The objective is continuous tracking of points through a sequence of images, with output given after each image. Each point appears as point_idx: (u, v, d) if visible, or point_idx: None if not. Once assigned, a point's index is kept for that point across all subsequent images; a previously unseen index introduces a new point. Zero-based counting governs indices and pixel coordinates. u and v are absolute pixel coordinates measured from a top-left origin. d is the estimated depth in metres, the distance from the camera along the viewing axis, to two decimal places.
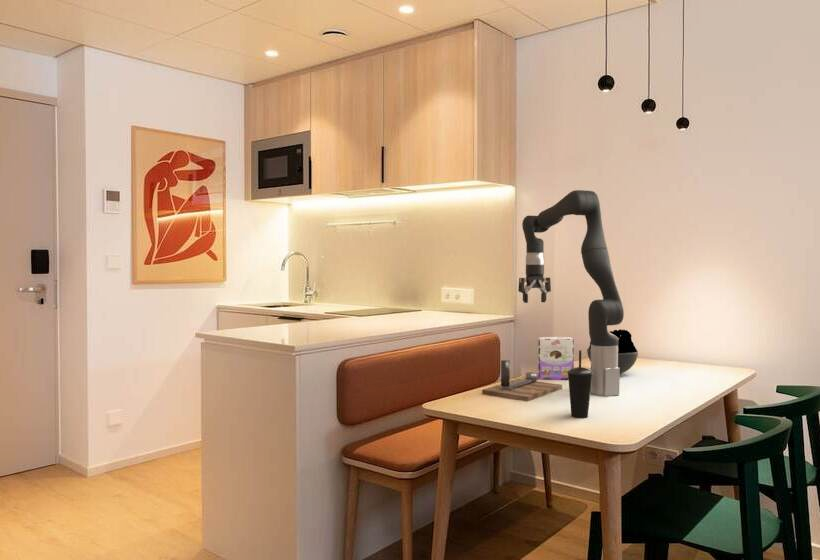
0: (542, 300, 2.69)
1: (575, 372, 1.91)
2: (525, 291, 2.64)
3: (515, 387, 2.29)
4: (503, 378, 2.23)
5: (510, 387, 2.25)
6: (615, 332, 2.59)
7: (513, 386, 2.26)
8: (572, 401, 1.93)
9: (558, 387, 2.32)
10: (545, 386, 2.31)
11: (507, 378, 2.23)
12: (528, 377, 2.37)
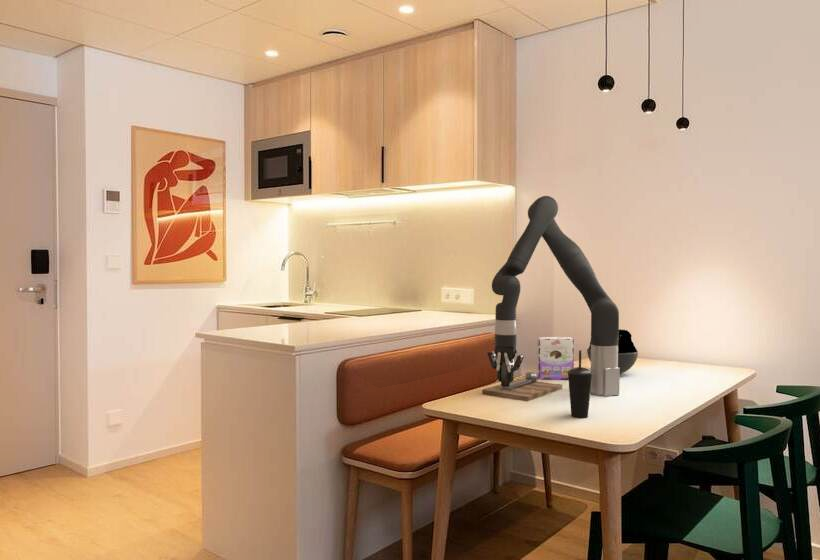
0: None
1: (575, 372, 1.91)
2: None
3: (515, 387, 2.29)
4: (503, 378, 2.23)
5: (510, 387, 2.25)
6: None
7: (513, 386, 2.26)
8: (572, 401, 1.93)
9: (558, 387, 2.32)
10: (545, 386, 2.31)
11: None
12: (528, 377, 2.37)
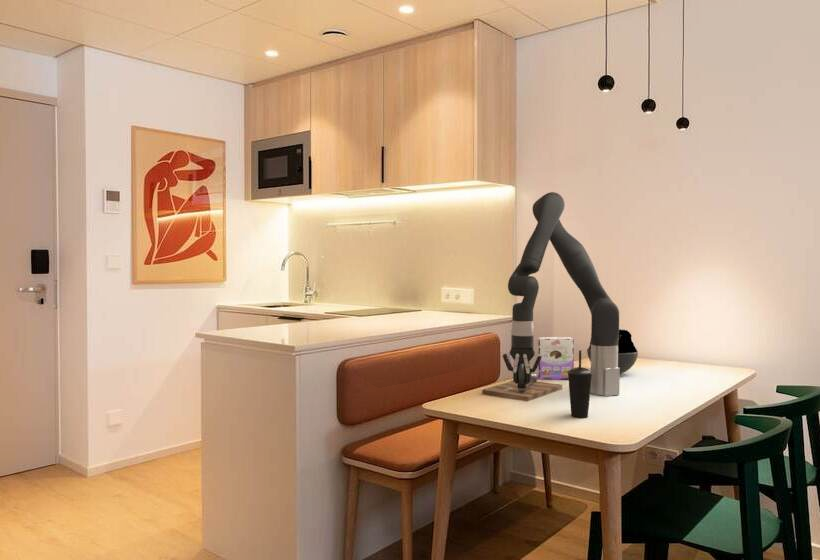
0: None
1: (575, 372, 1.91)
2: None
3: (515, 387, 2.29)
4: (521, 380, 2.19)
5: (526, 388, 2.22)
6: None
7: (527, 387, 2.24)
8: (572, 401, 1.93)
9: (558, 387, 2.32)
10: (545, 386, 2.31)
11: (525, 380, 2.20)
12: None
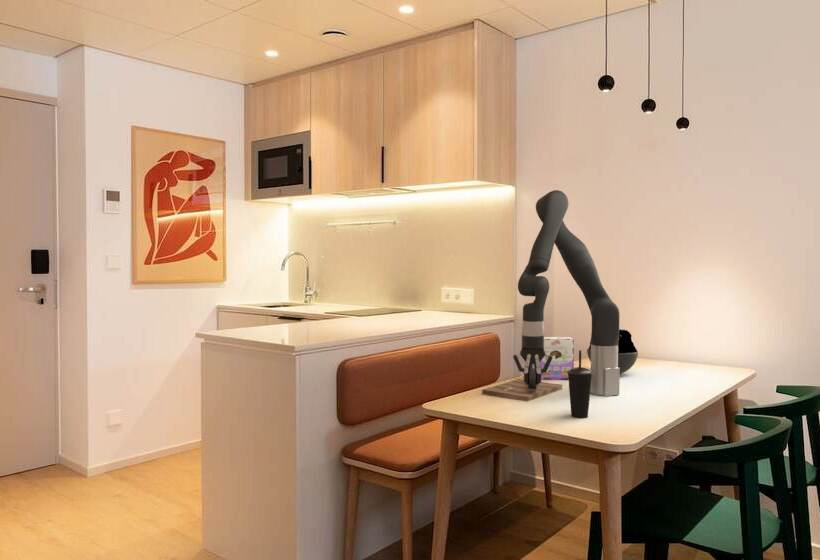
0: (527, 381, 2.20)
1: (575, 372, 1.91)
2: None
3: (515, 387, 2.29)
4: (532, 380, 2.19)
5: None
6: None
7: None
8: (572, 401, 1.93)
9: (558, 387, 2.32)
10: (545, 386, 2.31)
11: (536, 380, 2.19)
12: None
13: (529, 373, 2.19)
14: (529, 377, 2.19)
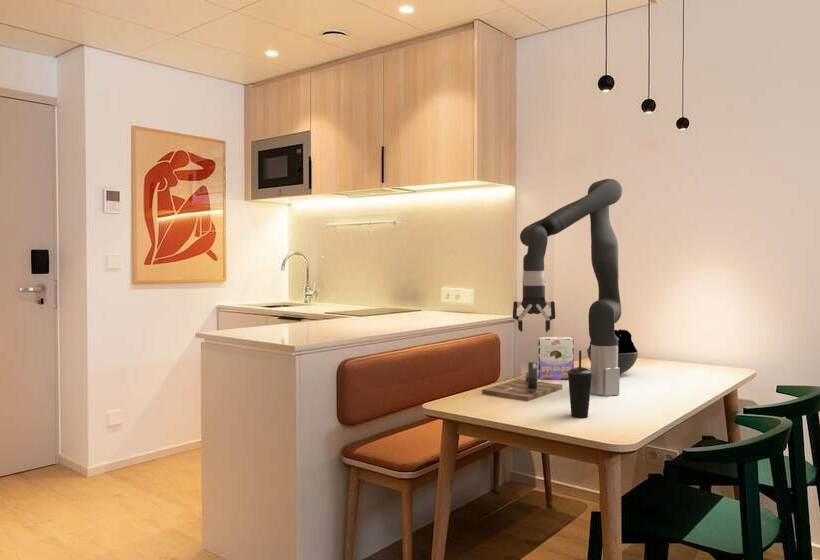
0: None
1: (575, 372, 1.91)
2: None
3: (515, 387, 2.29)
4: (533, 380, 2.18)
5: None
6: (615, 332, 2.59)
7: None
8: (572, 401, 1.93)
9: (558, 387, 2.32)
10: (545, 386, 2.31)
11: (536, 380, 2.19)
12: None
13: (529, 373, 2.19)
14: (529, 377, 2.19)
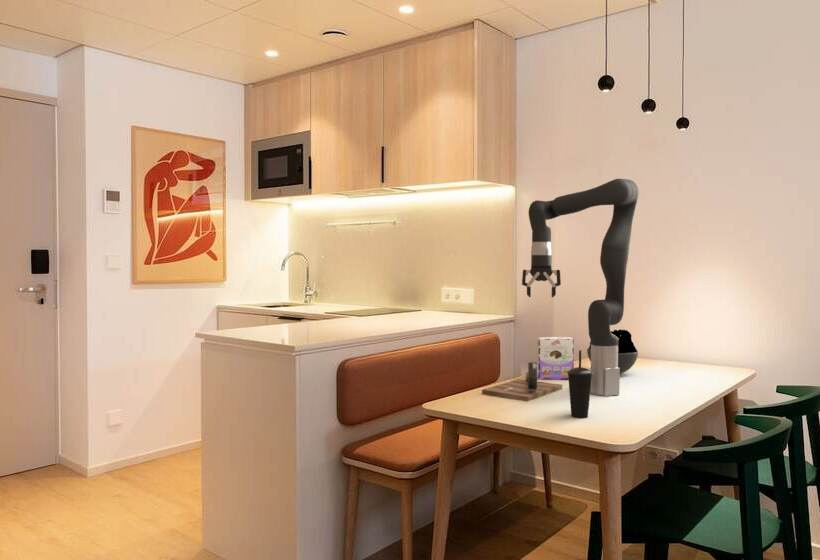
0: (530, 295, 2.42)
1: (575, 372, 1.91)
2: None
3: (515, 387, 2.29)
4: (533, 380, 2.18)
5: None
6: (615, 332, 2.59)
7: None
8: (572, 401, 1.93)
9: (558, 387, 2.32)
10: (545, 386, 2.31)
11: (536, 380, 2.19)
12: None
13: (529, 373, 2.19)
14: (529, 377, 2.19)
